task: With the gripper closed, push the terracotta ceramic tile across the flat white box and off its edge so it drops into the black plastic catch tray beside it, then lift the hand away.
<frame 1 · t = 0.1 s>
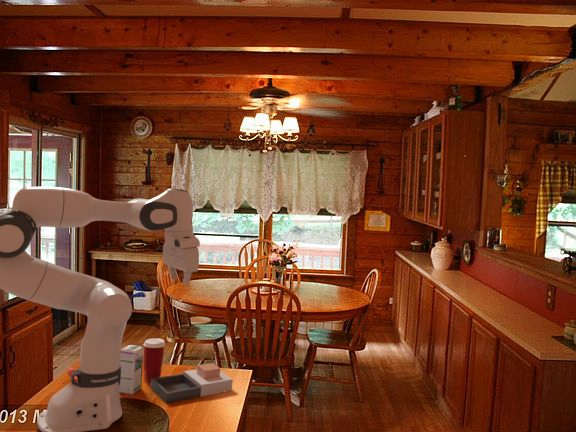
hand: (180, 281, 151), 39 cm above the kitchen island, tool pointing down, fingers open, 8 cm apart
catch tray: (175, 392, 158), on the kitchen island
paper cup: (151, 380, 168), on the kitchen island
tile: (208, 375, 166), point 4 cm above the kitchen island, touching flat white box
syrup box: (129, 390, 157), on the kitchen island
flat white box: (207, 386, 166), on the kitchen island
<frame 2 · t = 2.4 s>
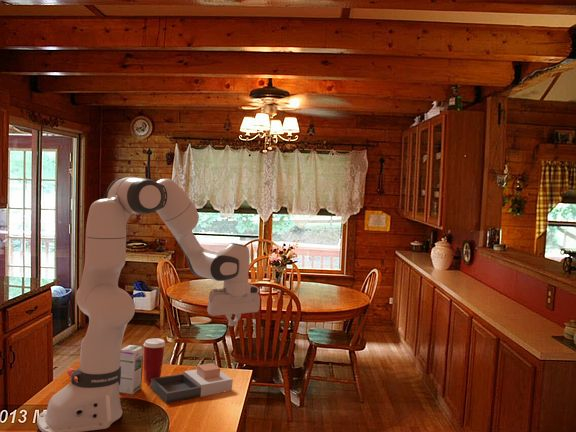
hand: (232, 325, 170), 21 cm above the kitchen island, tool pointing down, fingers closed
nothing on the kitchen island moved.
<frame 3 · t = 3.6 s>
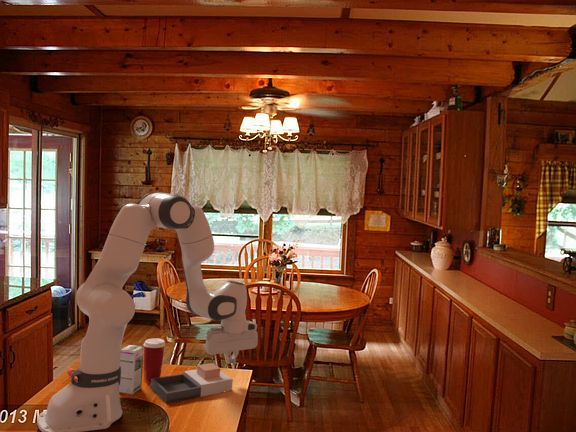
hand: (230, 362, 171), 7 cm above the kitchen island, tool pointing down, fingers closed
nothing on the kitchen island moved.
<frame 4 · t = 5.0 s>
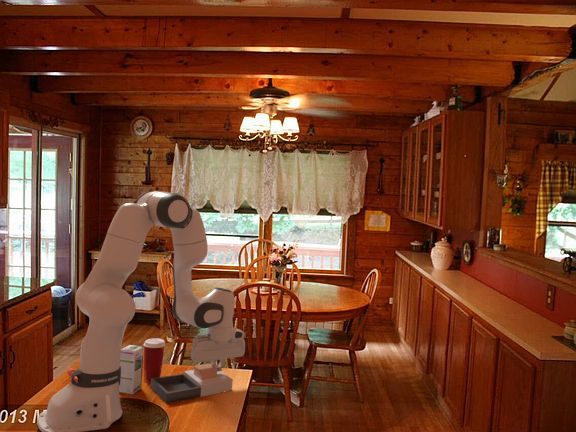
hand: (217, 371, 167), 5 cm above the kitchen island, tool pointing down, fingers closed
tile: (205, 375, 165), point 4 cm above the kitchen island, touching gripper
everything else where it was.
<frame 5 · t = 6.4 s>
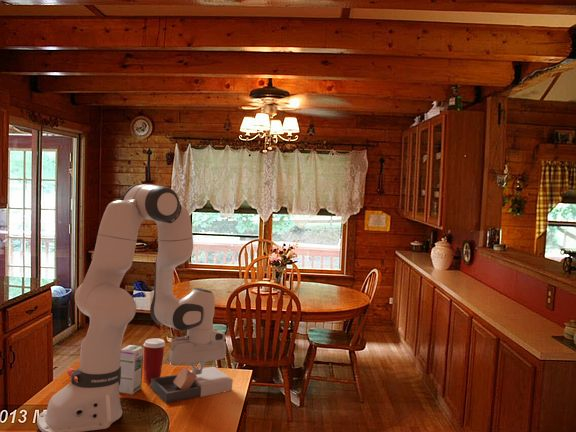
hand: (196, 374, 163), 5 cm above the kitchen island, tool pointing down, fingers closed
tile: (187, 381, 161), point 3 cm above the kitchen island, tilted 53°, touching catch tray, gripper
everything else where it was.
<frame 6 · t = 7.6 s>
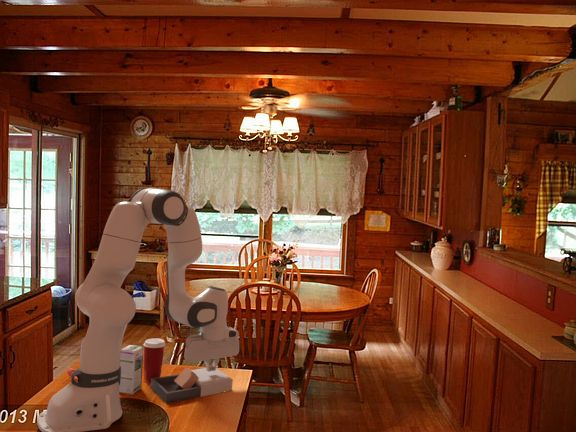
hand: (211, 370, 166), 5 cm above the kitchen island, tool pointing down, fingers closed
tile: (188, 382, 161), point 3 cm above the kitchen island, tilted 42°, touching catch tray, flat white box
everything else where it was.
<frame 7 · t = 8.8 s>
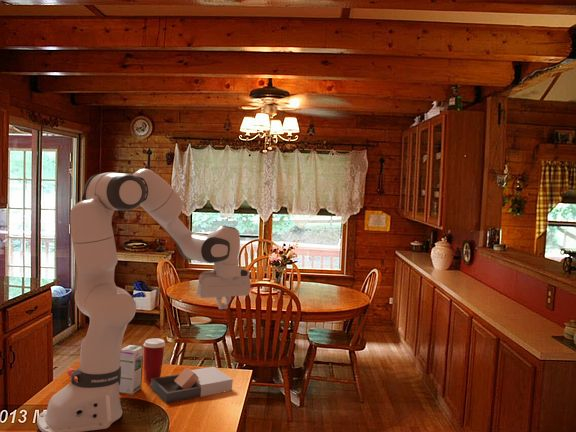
hand: (222, 308, 170), 27 cm above the kitchen island, tool pointing down, fingers closed
nothing on the kitchen island moved.
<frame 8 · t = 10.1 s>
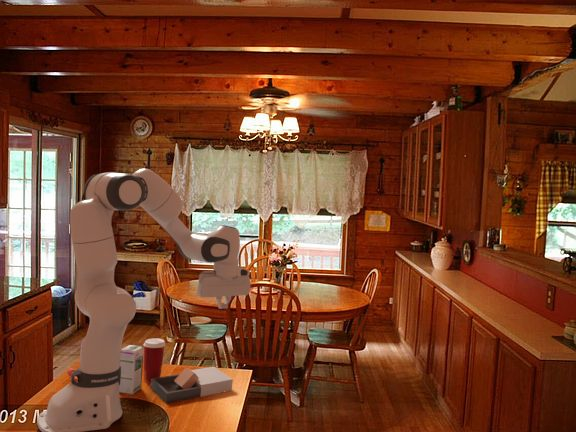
hand: (222, 308, 170), 27 cm above the kitchen island, tool pointing down, fingers closed
nothing on the kitchen island moved.
at the end: tile inside the target area (4.6 cm from its centre), point 2.8 cm above the kitchen island; tile moved 7.5 cm from its start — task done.
